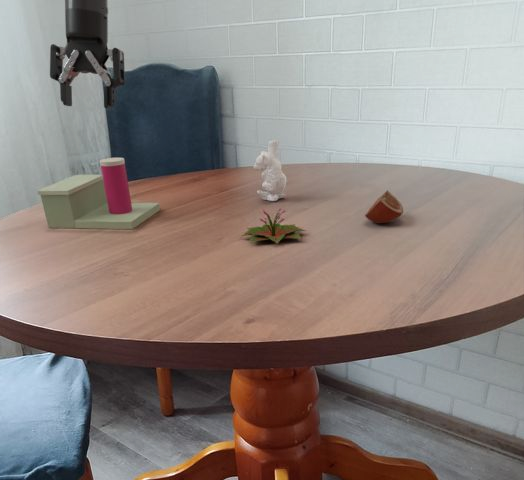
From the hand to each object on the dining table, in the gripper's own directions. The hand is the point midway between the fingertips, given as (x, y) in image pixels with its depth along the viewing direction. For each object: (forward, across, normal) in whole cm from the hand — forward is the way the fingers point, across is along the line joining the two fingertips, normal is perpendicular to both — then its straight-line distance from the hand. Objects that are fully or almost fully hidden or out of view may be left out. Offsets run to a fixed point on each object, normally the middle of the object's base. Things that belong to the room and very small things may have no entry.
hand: (87, 107), depth 105 cm
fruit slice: (+16, +59, -2) cm, 61 cm away
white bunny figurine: (+15, +36, +15) cm, 41 cm away
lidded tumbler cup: (+19, +7, 0) cm, 20 cm away
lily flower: (+20, +40, -11) cm, 47 cm away
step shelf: (+21, +4, 0) cm, 21 cm away
